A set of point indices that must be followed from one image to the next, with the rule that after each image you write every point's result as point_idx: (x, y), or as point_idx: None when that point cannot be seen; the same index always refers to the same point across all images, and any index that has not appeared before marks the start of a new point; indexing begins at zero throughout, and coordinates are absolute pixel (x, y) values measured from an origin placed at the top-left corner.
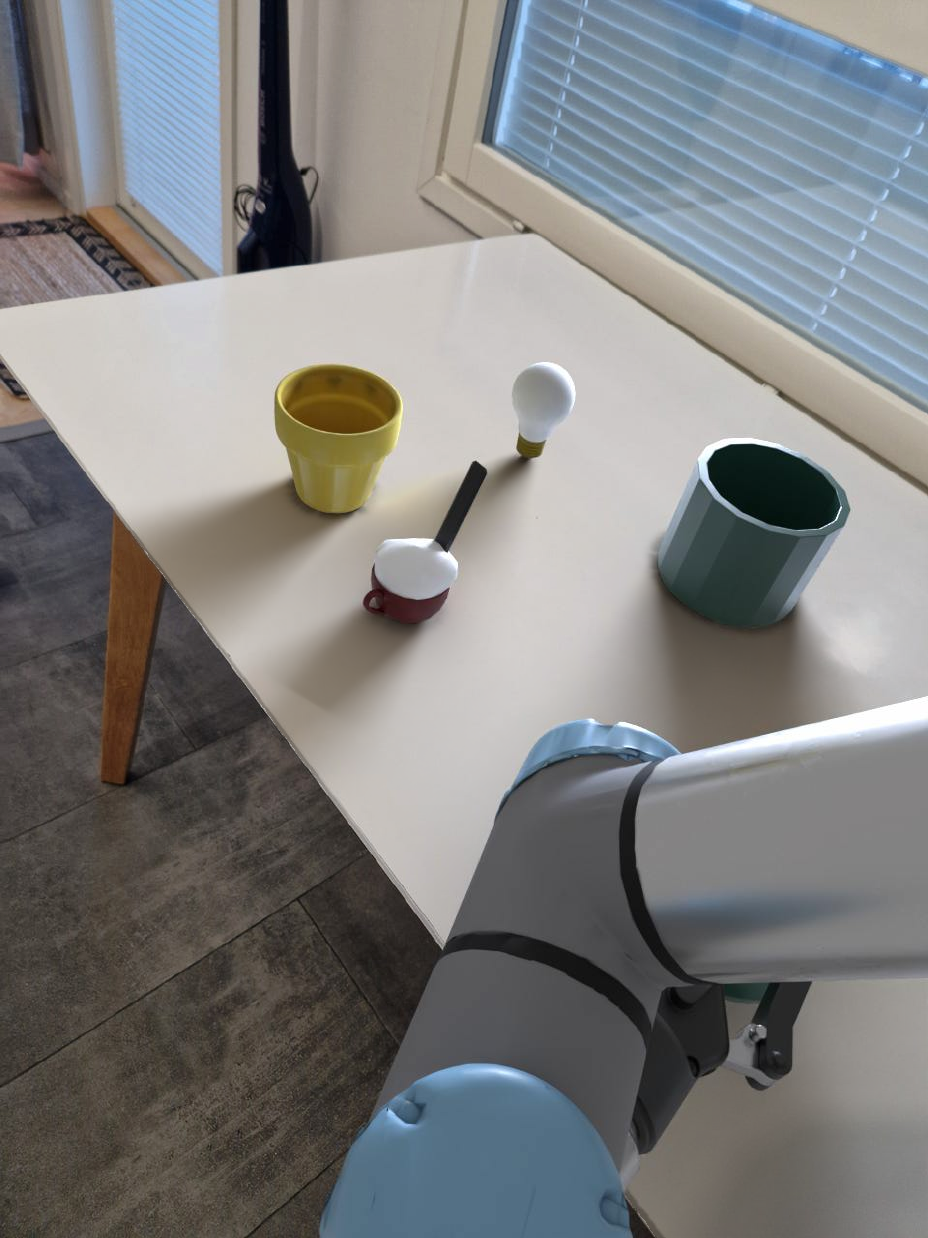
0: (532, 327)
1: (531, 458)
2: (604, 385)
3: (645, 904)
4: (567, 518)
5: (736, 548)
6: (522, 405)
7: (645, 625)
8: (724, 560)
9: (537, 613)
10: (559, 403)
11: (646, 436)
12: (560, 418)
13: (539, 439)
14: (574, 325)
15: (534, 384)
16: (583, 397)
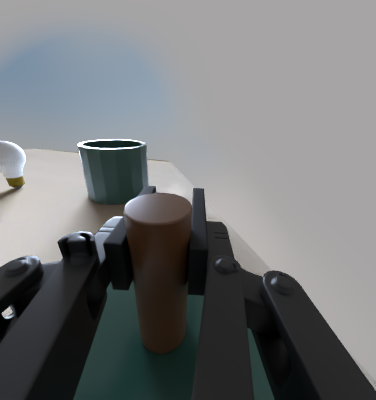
0: (28, 161)
1: (20, 187)
2: (60, 166)
3: None
4: (40, 198)
5: (107, 164)
6: None
7: (86, 216)
8: (106, 173)
9: (13, 236)
10: (11, 153)
11: (79, 171)
12: (17, 161)
13: (15, 175)
14: (47, 158)
15: None
16: (51, 170)
